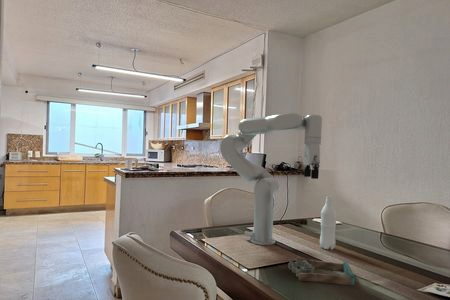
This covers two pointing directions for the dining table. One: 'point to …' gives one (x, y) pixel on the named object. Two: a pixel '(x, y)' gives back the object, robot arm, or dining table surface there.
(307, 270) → the egg carton
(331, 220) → the water bottle
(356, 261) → the dining table surface
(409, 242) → the dining table surface
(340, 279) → the guide
